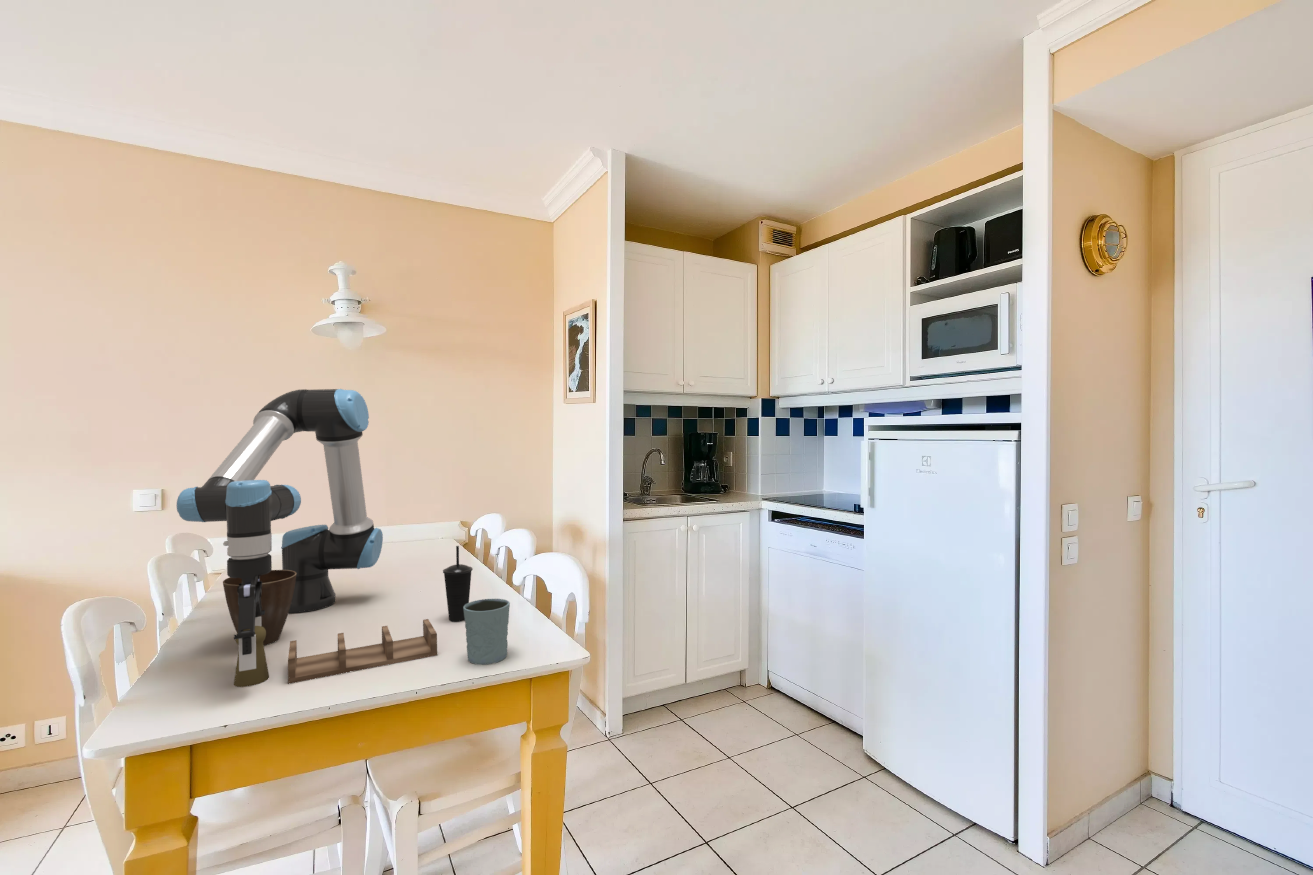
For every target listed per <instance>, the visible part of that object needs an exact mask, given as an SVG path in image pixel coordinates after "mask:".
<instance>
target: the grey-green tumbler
mask: <svg viewBox="0 0 1313 875" xmlns="http://www.w3.org/2000/svg"><path fill="white" fill-rule="evenodd" d="M510 604H511V602H510V601H509V600H507V599H503V598H483V599H477V600H473V601H469V603H467V604H466V605H464V607H463V609H464V618H465V620H464V623H465V624H464V627H465V637H466V639H465V640H466V641H465V642H466V654H467V661H468V662H469V663H471V664H474V665H480V666H481V665H482V666H484V665H492V664H496V663H500V662H502V661H503V660H505V659H506V658H507V655H508V647H509V646H508V642H509V641H508V635H509V633H508V631H509V627H508V626H509V619H510Z"/></svg>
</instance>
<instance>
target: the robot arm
mask: <svg viewBox="0 0 1313 875" xmlns="http://www.w3.org/2000/svg"><path fill="white" fill-rule="evenodd" d="M369 419H370V415H369V409H368V405H367V403H366V400H365V398H364V397H363V395H362V394H361V393H360V392H359V391H357V390H354V389H343V388H335V389H334V388H332V389H331V388H325V389H324V388H323V389H320V388H319V389H306V388H305V389H295V390H291V391H288V392H286V393H284V394H282V395H279V396H277V397H275V398H274V399H272V400H271V401H269V402H268V403H267V404H265V405H264V406H263V407H262V408H261V409H260V410H259V411H258V412H257V414H255V416H254V418H253V421H252V424H253V425H252V426H251V427H250V428H249V430H248V431H247V432H246V434H244V436H243V437H242V438H241V439H240V441H239V442H238V443H237V444H236V446H234V448H233V449H232V450H231V452H230V453H229V454H228V455H227V457H226V458H225V459H224V460H223V461H222V462H221V464H220V465H219V466H218V467H217V468H216V469H215V470H214V472H213V473H212V474H211V475H210V477H209V478H208V479H207V480H206V482H205V483H204V484H202V486H200V487H199V486H194V487H188V488H187V487H186V488H185V489H183V490H182V491H181V492H180V493H179V495H178V496H177V499H176V511H177V514H178V516H179V517H180V518H181V520H184V521H186V522H198V523H200V522H201V523H209V522H210V523H211V522H226V541H223V543H222V544H223V546H224V547H227V548H226V549H227V550H226V552H227V555H226V556H228V557H229V558H228V559H227V560H226V565H227V566H226V572H227V574H226V575H227V577H228V578H229V577H231V578H241V579H242V583H239V586H238V588H237V592H238V605H239V617H238V634H237V633H236V634H237V635H236V634H233V639H234V640H236V639H239V645H238V650H239V671H245V670H251V669H256V635H255V626H261V616H260V615H265V610H261V609H262V606H261V593H262V590H261V589H262V581H260V575H265V574H267V573H269V572H270V571H271V570H273V569H272V568H273V567H272V565H273V564H272V563H273V562H272V554H270V553H271V552H272V551H273V550H272V547H273V546H272V543H273V542H272V540H273V539H272V521H273V522H274V521H277V520H280V519H281V520H283V519H285V518H288V517H290V516H293V515H294V514H295V513H297V511H298V510H299V508H300V506H301V505H302V504H301V503H302V497H301V494H300V492H299V491H298V489H296V487H294V486H292V485H289V484H274V485H271V483H270V482H269V481H268V480H267V479H256V477H258V475H259V474H260V473H261V471H262V470H263V468H264V467H265V466H266V464H267V463H268V461H269V460H270V458H272V456H273V455H274V453H275V452H276V451H277V449H278V448H279V447H280V446H281V444H282V442H284V441H287V440H289V439H290V438H292V436H293V435H294V434H296V433H302V432H312V433H313V432H314V433H315V439H316V441H317V442H319V443H320V444H321V445H323V450H324V451H323V452H324V458H325V459H324V460H325V464H326V465H325V466H326V474H327V480H328V485H329V486H328V488H329V493H330V495H329V496H330V499H331V500H330V501H331V508H332V514H333V523H331V525H330V526H329V527H328V525H327V524H317V525H310V526H304V527H298V528H295V529H291V530H288V531H286V532H285V533H284V534H283V535H282V540H281V548H280V549H281V567H282V569H281V570H291V571H295V572H296V573H297V574H296V581H295V587H294V592H293V597H292V601H291V605H290V609H289V612H288V614H290V613H291V614H295V613H304V612H311V611H316V610H321V609H325V608H327V607H329V606H330V607H331V606H332V605H333V604H335V603H336V593H335V590H334V587H333V585H332V583H331V580H330V578H329V570H353V569H357V570H360V569H366V568H372V567H374V566H375V565H376V564H377V562H378V561H379V558H380V557H381V553H382V550H383V549H382V548H383V540H384V539H383V538H384V537H383V536H384V535H383V531H382V529H381V528H379V527H375V526H374V521H373V519H372V518H370V517H368V516H367V515H368V513H367V508H366V507H367V506H366V500H365V499H366V498H365V491H364V483H363V481H364V480H363V474H362V468H361V467H362V466H361V458H360V457H361V456H360V452H359V450H360V449H359V443H358V442H359V440H361V438H362V437H363V434H364V431H366V430H367V428H368V426H369V422H370V421H369ZM258 616H260V617H258ZM246 629H250V630H246ZM243 630H246V631H243Z"/></svg>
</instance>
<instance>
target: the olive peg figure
mask: <svg viewBox="0 0 1313 875" xmlns="http://www.w3.org/2000/svg"><path fill="white" fill-rule="evenodd" d="M246 630H250V629H246ZM246 630H243V631H246ZM237 634H238V632H236V634H235V635H237ZM255 635H256V669H251V670H245V671H239V649H238V650H237V651H238V652H237V659H236V666H235V672H234V680H233V685H234V686H235V687H237V688H246V687H252V686H256V685H259V684H262V683H264V682H266V681H267V680H269V679H270V673H269V666H268V663H267V661H268V660H267V656H266V650H265V645H264V644H263V641H264V640H265V637H266V630H265V628H264V627H262V626H255ZM235 643H236V644H237V646H239V639H235ZM268 678H269V679H268Z"/></svg>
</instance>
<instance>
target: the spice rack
mask: <svg viewBox="0 0 1313 875" xmlns="http://www.w3.org/2000/svg"><path fill="white" fill-rule="evenodd" d="M297 644H298V643H297V639H296V640H290V641H289V646H288V647H289V648H288V657H287V675H288V676H287V680H288V682H287V684H288V685H290V684H294V683H295V682H296V683H299V682H305V681H310V679H311V680H315V678H316V679H321V678H326V677H325V676H327V677H331V676H330V675H332V676H337V675H341V673H342V674H345V673H346V672H347V673H351V672H350V671H353V672H357V671H362V669H363V670H367V668H368V669H372V668H373V669H374V668H377V666H378V667H382V666H383V665H384V666H388V664H389V665H393V664H397V663H404V662H409V661H410V662H411V661H414V660H420V659H424V658H425V659H426V658H430V657H434V656H438V632H437V631H436V630H435V628H434V626H433V624H432V623H431V621H430V620H429V619H428V618H427V619H426V618H425V619H422V636H415V637H410V638H405V639H398V640H394V639H393V638H392V635H391V632H390V628H389V626H388V625H383V626H381V643H377V644H371V645H370V644H369V645H365V646H359V647H358V646H357V647H353V648H348V649H347V648H346V647H347V646H346V641H345V634H344V632H339V633H337V650H335V651H331V652H330V651H329V652H325V653H324V652H323V653H319V654H313V655H306V656H301V657H298V656H297V655H298V651H297V650H298V649H297V648H298V647H297V646H298V645H297ZM336 674H337V675H336ZM289 683H290V684H289Z"/></svg>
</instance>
